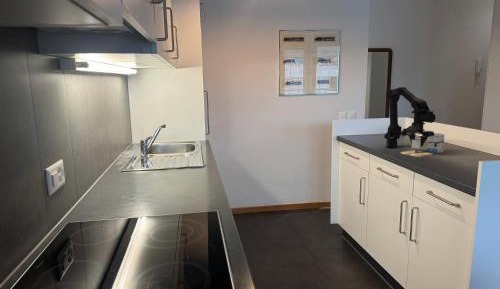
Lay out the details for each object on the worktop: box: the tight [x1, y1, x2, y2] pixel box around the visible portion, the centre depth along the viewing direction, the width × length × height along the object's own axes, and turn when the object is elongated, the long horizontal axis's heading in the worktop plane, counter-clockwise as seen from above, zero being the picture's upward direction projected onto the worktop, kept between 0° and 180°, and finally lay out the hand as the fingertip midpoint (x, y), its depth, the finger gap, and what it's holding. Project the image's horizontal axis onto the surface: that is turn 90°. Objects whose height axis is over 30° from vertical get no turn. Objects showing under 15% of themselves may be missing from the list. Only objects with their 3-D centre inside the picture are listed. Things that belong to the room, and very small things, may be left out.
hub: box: [411, 138, 423, 149], centre depth 223 cm, size 6×6×5 cm
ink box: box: [426, 132, 445, 154], centre depth 228 cm, size 8×5×12 cm, turn 105°
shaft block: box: [400, 148, 434, 158], centre depth 224 cm, size 14×12×6 cm
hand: (416, 145), depth 223 cm, fingers closed on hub, 6 cm apart
